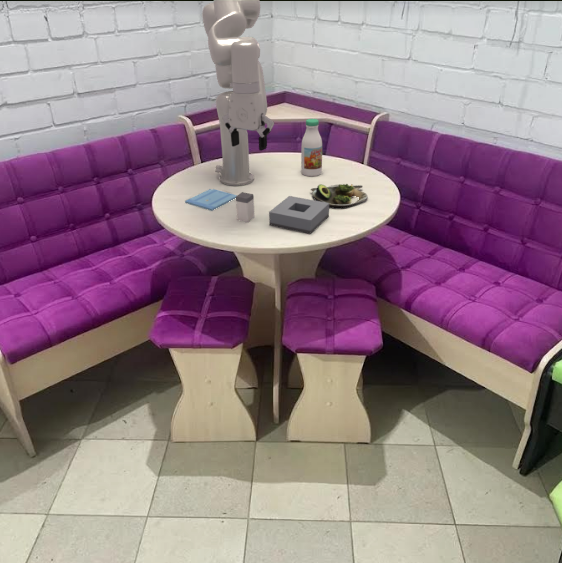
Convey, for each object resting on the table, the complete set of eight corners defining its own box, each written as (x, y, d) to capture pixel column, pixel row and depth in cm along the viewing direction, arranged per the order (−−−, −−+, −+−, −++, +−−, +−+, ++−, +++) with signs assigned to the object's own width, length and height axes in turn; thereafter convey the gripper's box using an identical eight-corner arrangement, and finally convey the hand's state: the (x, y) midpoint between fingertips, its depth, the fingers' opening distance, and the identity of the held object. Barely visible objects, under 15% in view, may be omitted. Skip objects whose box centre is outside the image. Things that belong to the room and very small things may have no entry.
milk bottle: (297, 174, 212) (297, 120, 202) (308, 168, 217) (308, 116, 207) (314, 178, 208) (315, 124, 198) (325, 172, 214) (327, 119, 203)
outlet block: (269, 225, 174) (269, 211, 172) (289, 208, 185) (289, 195, 183) (310, 233, 169) (310, 220, 166) (328, 216, 179) (329, 203, 177)
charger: (237, 220, 178) (235, 196, 174) (243, 215, 181) (242, 192, 177) (248, 222, 176) (246, 198, 172) (254, 217, 179) (253, 194, 175)
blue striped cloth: (211, 191, 200) (211, 188, 199) (238, 198, 194) (237, 195, 193) (185, 204, 191) (184, 200, 190) (212, 212, 185) (211, 208, 184)
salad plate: (347, 183, 204) (347, 171, 202) (380, 199, 191) (381, 186, 189) (303, 195, 195) (303, 183, 193) (335, 213, 182) (336, 199, 180)
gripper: (213, 87, 161) (218, 147, 170) (265, 92, 153) (267, 154, 162) (228, 83, 167) (232, 140, 175) (279, 88, 159) (280, 147, 168)
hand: (249, 147), depth 169 cm, fingers open, 9 cm apart
